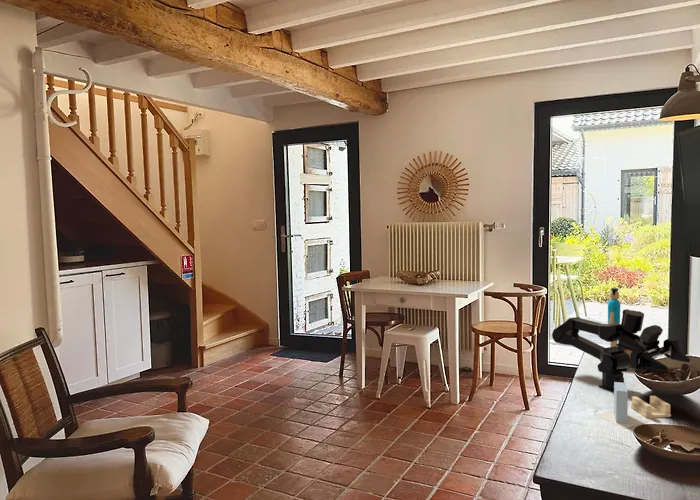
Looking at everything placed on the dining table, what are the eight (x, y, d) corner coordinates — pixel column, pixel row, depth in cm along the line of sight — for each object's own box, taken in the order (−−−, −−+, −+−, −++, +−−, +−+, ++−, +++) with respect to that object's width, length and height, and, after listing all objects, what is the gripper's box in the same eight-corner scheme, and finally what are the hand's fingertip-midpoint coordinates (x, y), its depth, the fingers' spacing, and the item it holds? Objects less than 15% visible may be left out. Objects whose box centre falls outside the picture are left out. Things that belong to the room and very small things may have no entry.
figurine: (621, 365, 218) (622, 291, 215) (604, 362, 221) (604, 290, 218) (627, 354, 231) (628, 285, 228) (610, 352, 234) (611, 284, 232)
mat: (593, 415, 169) (593, 414, 169) (616, 410, 173) (616, 409, 173) (624, 429, 159) (624, 428, 159) (647, 422, 163) (647, 421, 163)
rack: (630, 408, 174) (631, 396, 173) (655, 407, 174) (655, 395, 174) (645, 418, 166) (645, 406, 165) (670, 417, 166) (671, 404, 166)
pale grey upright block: (613, 412, 170) (614, 381, 169) (624, 413, 169) (624, 382, 168) (616, 422, 163) (616, 390, 162) (627, 423, 162) (627, 391, 161)
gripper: (616, 329, 176) (657, 350, 162) (659, 315, 182) (702, 333, 168) (614, 359, 180) (655, 382, 165) (656, 344, 185) (699, 365, 171)
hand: (678, 364), depth 167 cm, fingers open, 9 cm apart
